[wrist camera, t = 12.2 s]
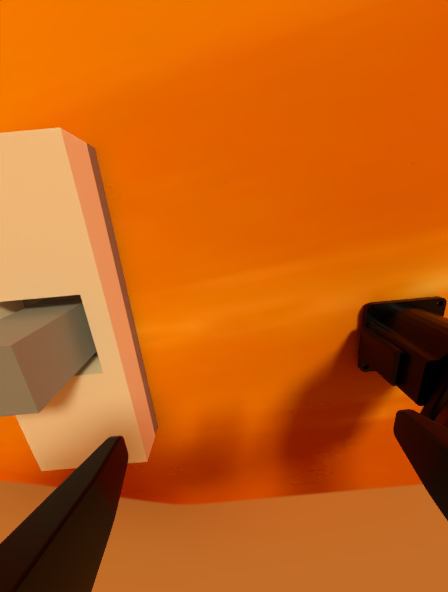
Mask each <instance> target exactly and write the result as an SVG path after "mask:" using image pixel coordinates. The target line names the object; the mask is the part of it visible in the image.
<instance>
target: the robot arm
mask: <svg viewBox="0 0 448 592" xmlns="http://www.w3.org/2000/svg"><path fill="white" fill-rule="evenodd" d="M438 302H439V303H438ZM437 303H438V304H437ZM372 307H373V309H372V310H371V311H370V309H371V308H372ZM445 307H446V299H444V298H442V297H426V298H415V299H404V300H392V301H381V302H371V303H368V304H366V306H365V308H364V315H363V324H362V329H361V334H360V343H359V352H358V354H359V360H358V367H359V368H360V369H361V370H362V371H363V372H368V371H377V372H378V373H379V374H380V375H381V376H382V377H383V378H384V379H385V380H386V381H387V382H388V383H390V384H391V385H392V386H398V387H399V388H400V389H401V390H402V391H403V392H404V393H405V394H406V395H407V396H408V397H410V398H411V399H412V400H413V401H414V402H415V403H416V404H417V405H418V406H424V407H423V409H422V411H421V412H420V414H419V413H418V412H416V411H414V410H410V409H408V410H399V411H398V412H397V413H396V418H395V423H394V429H393V430H394V435H395V437H396V439H397V441H398V442H399V444H400V446H401V447H402V449H403V451H404V453H405V454H406V456H407V458H408V459H409V461H410V463H411V464H412V466H413V468H414V470H415V471H416V473H417V475H418V476H419V478H420V480H421V481H422V483H423V485H424V486H425V488H426V490H427V491H428V493H429V494H430V496H431V497H432V499H433V500H434V502H435V503H436V505H437V506H438V507H439V509H440V510H441V512H442V513H443V515H444V516H445V518H446V519H447V520H448V319H447V318H445V317H443V316H444V311H445ZM364 365H366V366H364ZM127 464H128V451H127V447H126V444H125V440H124V437H123V436H121V435H119V436H110V437H109V438H107V439H106V440H105V441H104V442H103V443H102V444H101V445H100V446H99V447H98V448H97V449H96V450H95V451H94V452H93V453H92V454H91V455H90V456H89V457H88V458H87V459H86V460H85V461H84V462H83V463H82V464H81V465H80V466H79V467H78V468H77V469H76V470H75V471H74V472H73V473H72V474H71V475H70V476H69V477H68V478H67V479H66V480H65V481H64V482H63V483H61V484H60V485H59V486H58V487H57V488H56V490H54V491H53V492H52V493H51V494H50V495H49V496H48V497H47V498H46V499H45V500H44V501H43V502H42V503H41V504H40V505H39V506H38V507H37V508H36V509H35V510H34V511H33V512H32V513H31V514H30V515H29V516H28V517H27V518H26V519H25V520H24V521H23V522H22V523H21V524H20V525H19V526H18V527H17V528H16V529H15V530H14V531H13V532H12V533H11V534H10V535H9V536H8V537H7V538H6V539H5V540H4V541H3V542H2V543H1V544H0V592H91V591H92V588H93V585H94V582H95V578H96V575H97V572H98V569H99V566H100V563H101V560H102V557H103V554H104V551H105V548H106V544H107V541H108V538H109V535H110V532H111V529H112V525H113V522H114V519H115V515H116V511H117V507H118V502H119V498H120V494H121V489H122V485H123V481H124V476H125V472H126V468H127Z"/></svg>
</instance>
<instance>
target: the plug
mask: <svg viewBox="0 0 448 592" xmlns="http://www.w3.org/2000/svg"><path fill="white" fill-rule="evenodd" d="M96 351H97V350H96V347H95V344H94V340H93V337H92V333H91V330H90V327H89V323H88V320H87V316H86V313H85V310H84V306H83V303H82V300H81V299H74V300H62V301H50V302H38V303H35V304H33V305H31V306H29V307H26V308H24V309H22V310H20V311H18V312H15V313H13V314H11V315H9V316H6V317H4V318H2V319H0V416H11V415H23V414H34V413H40V411H41V410H42V409H43V408H44V407H45V406H46V405H47V404H48V403H49V402H50V401H51V400H52V399H53V398H54V396H55V395H56V394H57V393H58V392H59V391H60V390H61V389H62V388H63V387H64V386H65V385H66V384H67V383H68V381H69V380H70V379H71V378H72V377H73V376H74V375H75V374H76V373H77V372H78V371H79V370H80V369H81V368H82V366H83V365H84V364H85V363H86V362H87V361H88V360H89V359H90V358H91V357H92V356H93V355H94V354H95V353H96Z"/></svg>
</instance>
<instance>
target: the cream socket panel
mask: <svg viewBox="0 0 448 592" xmlns="http://www.w3.org/2000/svg"><path fill="white" fill-rule="evenodd" d="M74 299H81V300H82V303H83V306H84V310H85V313H86V316H87V320H88V323H89V327H90V330H91V333H92V337H93V340H94V344H95V347H96V350H97V351H96V353H95V354H94V355H93V356H92V357H91V358H90V359H89V360H88V361H87V362H86V363H85V364H84V365H83V366H82V368H81V369H80V370H79V371H78V372H77V373H76V374H75V375H74V376H73V377H72V378H71V379H70V380H69V381H68V383H67V384H66V385H65V386H64V387H63V388H62V389H61V390H60V391H59V392H58V393H57V394H56V395H55V396H54V398H53V399H52V400H51V401H50V402H49V403H48V404H47V405H46V406H45V407H44V408H43V409H42V410H41V411H40V413H34V414H23V415H15V416H16V418H17V420H18V422H19V425H20V427H21V429H22V431H23V433H24V435H25V437H26V440H27V442H28V444H29V446H30V448H31V450H32V452H33V455H34V457H35V459H36V461H37V463H38V465H39V467H40V469H41V471H50V470H61V469H72V468H78V467H79V466H80V465H81V464H82V463H83V462H84V461H85V460H86V459H87V458H88V457H89V456H90V455H91V454H92V453H93V452H94V451H95V450H96V449H97V448H98V447H99V446H100V445H101V444H102V443H103V442H104V441H105V440H106V439H107V438H109V437H110V436H119V435H121V436H123V437H124V440H125V444H126V447H127V451H128V463H139V462H148V458H149V455H150V452H151V448H152V445H153V441H154V438H155V434H156V431H157V428H158V425H157V421H156V416H155V412H154V407H153V403H152V399H151V394H150V390H149V385H148V381H147V377H146V372H145V368H144V363H143V359H142V355H141V350H140V346H139V341H138V337H137V333H136V328H135V324H134V319H133V315H132V311H131V306H130V302H129V297H128V293H127V289H126V284H125V280H124V275H123V271H122V267H121V262H120V258H119V253H118V249H117V244H116V240H115V236H114V231H113V227H112V222H111V218H110V214H109V209H108V205H107V200H106V196H105V192H104V187H103V183H102V178H101V174H100V170H99V165H98V161H97V156H96V152H95V148H94V147H92V146H90V145H89V144H87V143H85V142H84V141H82V140H80V139H79V138H77V137H75V136H74V135H72V134H70V133H69V132H67V131H65V130H64V129H62V128H50V129H39V130H28V131H17V132H6V133H0V319H2V318H4V317H6V316H9V315H11V314H13V313H15V312H18V311H20V310H22V309H24V308H26V307H29V306H31V305H33V304H35V303H38V302H50V301H62V300H74Z"/></svg>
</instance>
